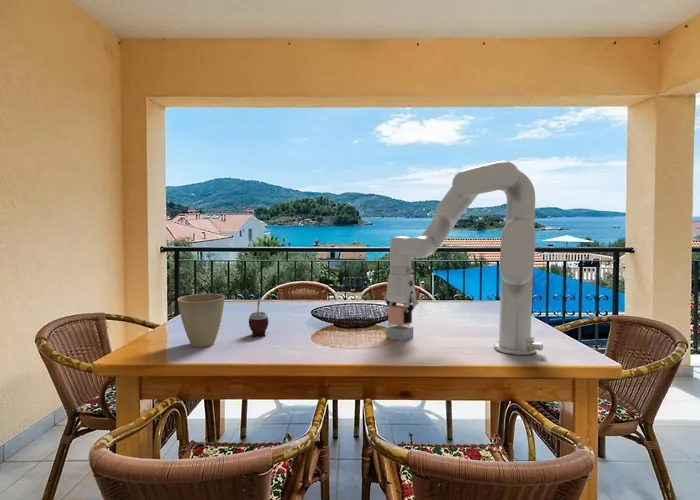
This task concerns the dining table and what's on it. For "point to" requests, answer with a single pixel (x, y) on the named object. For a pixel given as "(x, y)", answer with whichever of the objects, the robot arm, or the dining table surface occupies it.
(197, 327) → the plant pot
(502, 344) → the robot arm
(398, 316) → the terracotta cube
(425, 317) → the dining table surface
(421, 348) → the dining table surface
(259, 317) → the mate gourd
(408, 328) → the slate-grey block
